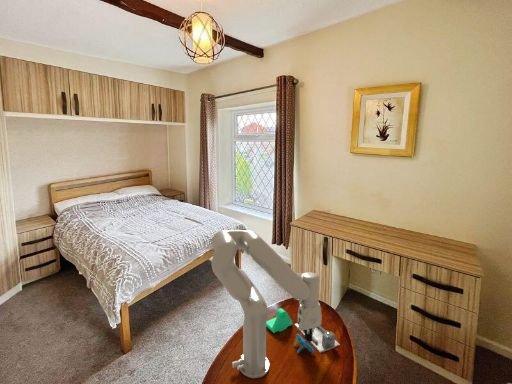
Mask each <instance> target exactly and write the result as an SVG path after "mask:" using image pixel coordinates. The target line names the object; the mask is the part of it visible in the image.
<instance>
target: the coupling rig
mask: <svg viewBox="0 0 512 384" xmlns="http://www.w3.org/2000/svg"><path fill="white" fill-rule="evenodd" d="M294 325H295V327H296V328H297V329H298V326H299V325H298V322H297V323H294ZM300 332H301V334H302V335H303V336H304V337H305V331H300ZM309 343H310V345H312V346H313V347H314V348H315V349H316V350H317V352H318V353H320V354H321V353H324V352H326V351H330V350H332V349H334V348H336V347H339V346H340V343H339V342H338V341H337V340H336V334H335V333H334V332H333V331H329V330H326V329H324V328H323V327H322V326H321V325H320V326H317V327H316V328H315V329H314V332H313V335H312V341H310V342H309Z"/></svg>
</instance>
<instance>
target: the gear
mask: <svg viewBox="0 0 512 384" xmlns="http://www.w3.org/2000/svg"><path fill="white" fill-rule="evenodd" d="M295 338H296V341H295V342H294V344H293V345H294V346H296V345H297V344H299V345H300V347H299V348H298V349H297V351H296V352H297V353H298V354H300V352H301V351H302V350H303V349H304V348H307V351H309V352H311V354H313V353H314V352H315V350H314V349H313V347H312V346H311V344H309V342H308V341H307V340H306V339H305V338H303V337H302V336H301V335H300V334H298V333H296V334H295Z"/></svg>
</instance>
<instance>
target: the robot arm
mask: <svg viewBox="0 0 512 384" xmlns="http://www.w3.org/2000/svg"><path fill="white" fill-rule="evenodd" d="M211 240H212V241H211V244H212V247H213V250H214V253H213V255H212V258H211V268H212V269H211V270H212V272H213V274H214V275H215V276H216V278H217V280H218V281H219V282H220V283H221V285H222V286H223V287H224V289H226V291H227V292H228V294H229V295H230V297H232V298H233V299H234V300H236V301H237V302H238V303H240V306H241V309H242V311H243V323H242V353H243V354H242V355H240V358H239V359H238V360H235V361H232V362H231V366H232V368H237V371H240V372H241V374H242V375H244V376H245V377H247V378H251V379H258V378H262V377H264V376H266V375H267V374H268V372H269V370H270V361H269V359H268V358H267V326H266V321H268V320H267V319H268V313H269V309H268V305H267V302H266V300H265V299H264V297H263V295H262V294H261V292H260V291H259V289H258V288H257V287H256V285H255V284H254V283H253V281H252V280H251V279H250V278H249V275H247V273H246V272H245V271H244V270H243V269H241V268H239V267H238V265H237V264H236V263H235V258H236V254H237V252H238V250H243V251H244V253H246V255H248V257H249V258H251V259H252V261H254V262H255V263H256V264H257V265H258V266H259V267H261V269H263V271H264V272H265V273H266V274H268V276H270V277H271V278H272V279H273V281H275V282H277V284H279V286H281V287H282V289H284V291H286V292H287V293H288V294H289V295H290V296H291V297H292V298H293V299H294V300H297V301H298V304H299V306H298V311H297V323H298V325H299V326H298V328H297V330H299V331H300V332H301V331H305V336H304V340H306V341H307V343H311V342H310V341H312V335H313V332H314V329H315V328H316V327H317V326H321V325H322V322H323V321H322V318H323V317H322V307H321V303H320V302H319V296H320V295H319V294H320V276H319V275H318V274H317V273H316V272H311V271H306V272H302V273H301V272H295V271H294V270H293V269H292V268H291V267H290V266H289V264H288V263H287V262H286V261H285V260H284V259H283V258H282V257H281V256H280V255H279V254H278V252H276V251H275V250H274V249H273V248H272V247H271V246H270V245H269V244H268V243H267V242H266V241H265V240H264V239H263V238H262V237H261V236H260V235H259V234H258V233H257V232H256V231H254V230H247V229H245V230H244V229H243V230H242V229H235V230H231V229H230V230H229V229H228V230H225V229H224V230H219V231H217V232H216V233H215V234H213V236H212V239H211Z"/></svg>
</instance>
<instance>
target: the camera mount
mask: <svg viewBox="0 0 512 384" xmlns="http://www.w3.org/2000/svg"><path fill="white" fill-rule="evenodd" d="M275 315H276V317H273V318H272V319H271V318H270V319H269V320H267V321H266V328H267V329H269V330H270V331H271V332H272V333H274V334H275V333H277V332H279V333H280V332H283V331H284V330H287V329H288V327H290V326H292V325H293V320H292V319H291V317H290V315H289V314H288V312H287V311H286V310H284V309H283V308H281V307H280V308H278V309H277V310H276V312H275Z"/></svg>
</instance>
